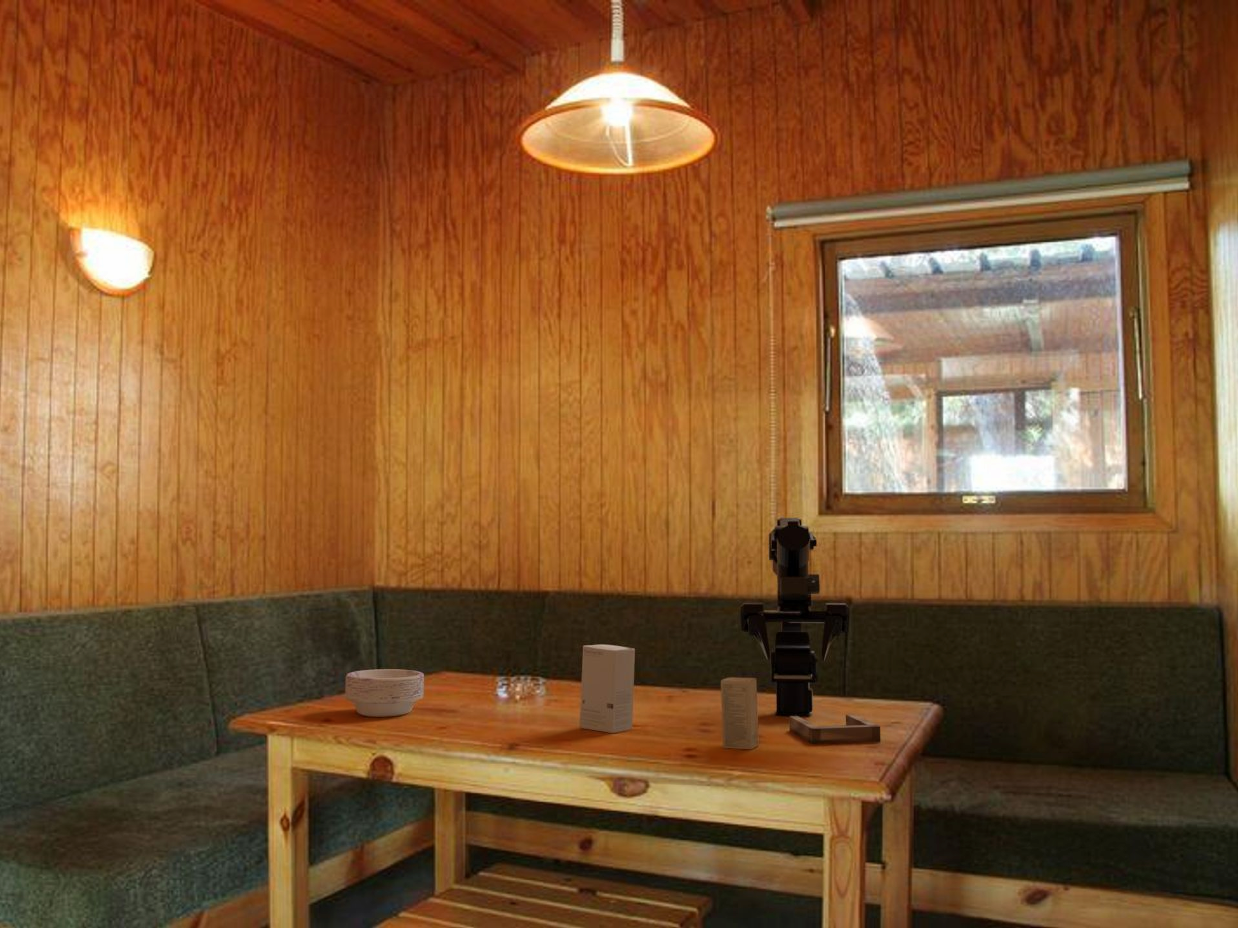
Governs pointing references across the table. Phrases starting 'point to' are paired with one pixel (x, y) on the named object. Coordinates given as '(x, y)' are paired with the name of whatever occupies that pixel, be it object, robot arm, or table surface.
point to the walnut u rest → (836, 731)
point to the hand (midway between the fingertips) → (795, 659)
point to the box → (739, 713)
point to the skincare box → (607, 688)
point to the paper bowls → (384, 691)
